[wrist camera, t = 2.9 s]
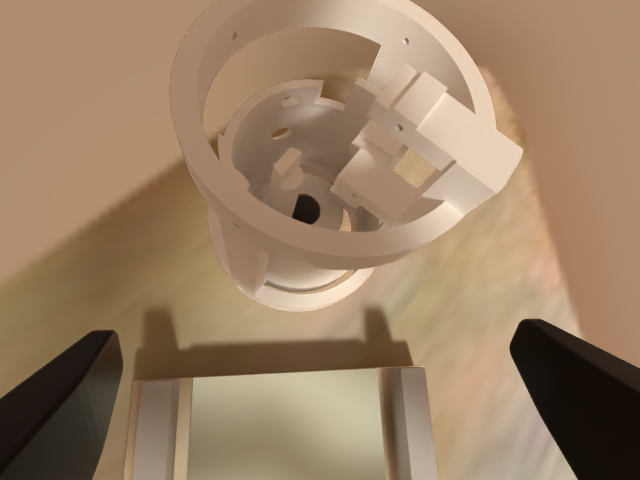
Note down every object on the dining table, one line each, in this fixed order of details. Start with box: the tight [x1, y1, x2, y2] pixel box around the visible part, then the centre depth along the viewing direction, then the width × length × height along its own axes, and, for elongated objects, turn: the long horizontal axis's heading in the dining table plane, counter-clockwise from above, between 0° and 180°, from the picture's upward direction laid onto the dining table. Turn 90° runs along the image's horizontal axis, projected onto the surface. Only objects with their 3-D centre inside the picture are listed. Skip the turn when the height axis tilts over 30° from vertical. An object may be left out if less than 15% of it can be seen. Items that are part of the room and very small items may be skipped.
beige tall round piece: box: [170, 0, 523, 311], centre depth 14 cm, size 7×7×15 cm
